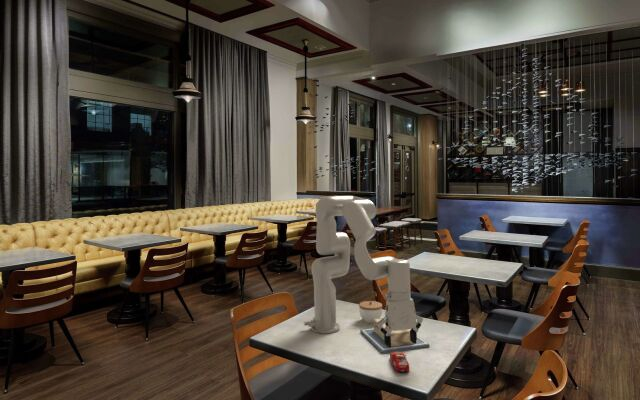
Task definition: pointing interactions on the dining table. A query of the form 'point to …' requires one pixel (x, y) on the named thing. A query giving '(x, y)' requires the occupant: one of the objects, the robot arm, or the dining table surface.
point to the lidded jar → (370, 310)
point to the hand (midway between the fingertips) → (400, 344)
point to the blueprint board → (381, 342)
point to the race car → (399, 362)
